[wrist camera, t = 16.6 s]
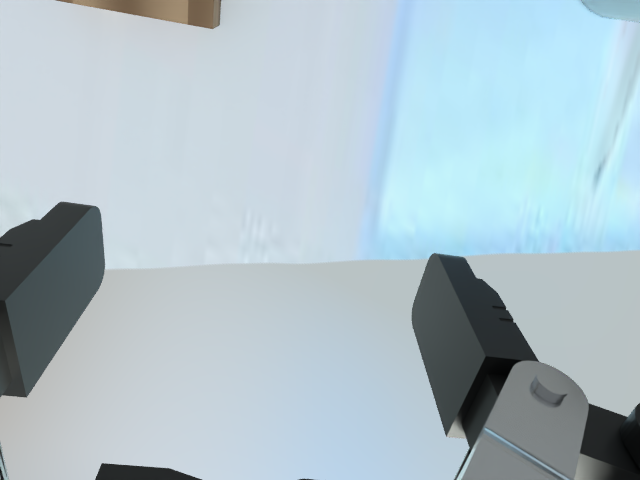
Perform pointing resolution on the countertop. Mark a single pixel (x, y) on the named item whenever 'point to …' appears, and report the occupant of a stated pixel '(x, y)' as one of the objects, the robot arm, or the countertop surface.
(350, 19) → the countertop surface
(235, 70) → the countertop surface
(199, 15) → the socket collar
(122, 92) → the countertop surface
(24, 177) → the countertop surface
